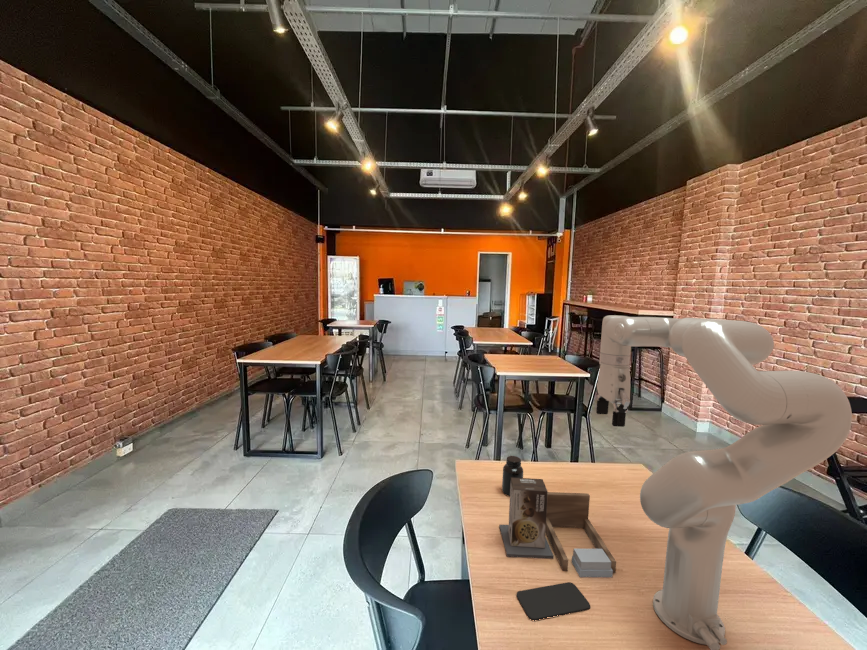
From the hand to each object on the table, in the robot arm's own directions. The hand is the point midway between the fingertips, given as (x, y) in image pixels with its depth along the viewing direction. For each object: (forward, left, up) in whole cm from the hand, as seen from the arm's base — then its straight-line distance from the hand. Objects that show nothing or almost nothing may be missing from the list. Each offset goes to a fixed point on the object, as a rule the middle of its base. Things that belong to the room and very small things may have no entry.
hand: (609, 419), depth 103 cm
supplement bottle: (+19, +22, -34) cm, 44 cm away
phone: (-25, +22, -34) cm, 47 cm away
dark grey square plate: (-6, +24, -33) cm, 41 cm away
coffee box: (-6, +23, -33) cm, 41 cm away
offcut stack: (-15, +9, -34) cm, 38 cm away
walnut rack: (-7, +10, -33) cm, 35 cm away
